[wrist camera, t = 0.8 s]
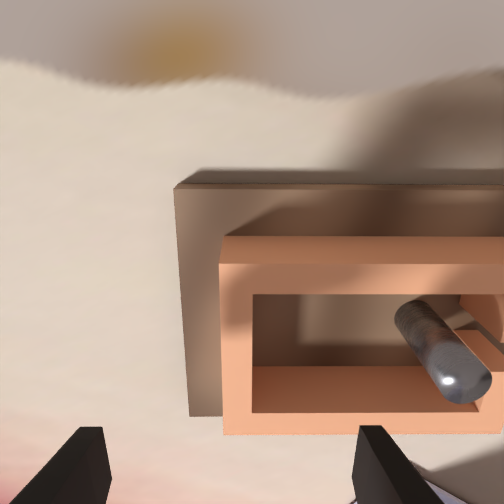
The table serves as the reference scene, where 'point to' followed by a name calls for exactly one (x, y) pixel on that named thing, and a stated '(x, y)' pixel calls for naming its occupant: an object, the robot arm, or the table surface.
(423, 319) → the hook post
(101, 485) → the robot arm
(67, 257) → the table surface
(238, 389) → the c link
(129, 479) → the table surface
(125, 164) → the table surface
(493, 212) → the stand base
